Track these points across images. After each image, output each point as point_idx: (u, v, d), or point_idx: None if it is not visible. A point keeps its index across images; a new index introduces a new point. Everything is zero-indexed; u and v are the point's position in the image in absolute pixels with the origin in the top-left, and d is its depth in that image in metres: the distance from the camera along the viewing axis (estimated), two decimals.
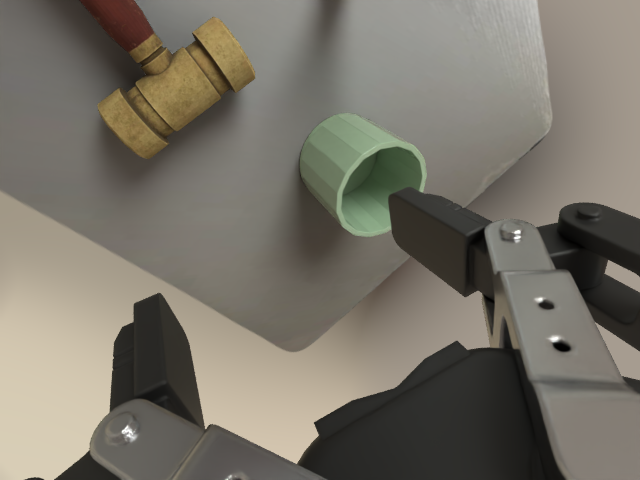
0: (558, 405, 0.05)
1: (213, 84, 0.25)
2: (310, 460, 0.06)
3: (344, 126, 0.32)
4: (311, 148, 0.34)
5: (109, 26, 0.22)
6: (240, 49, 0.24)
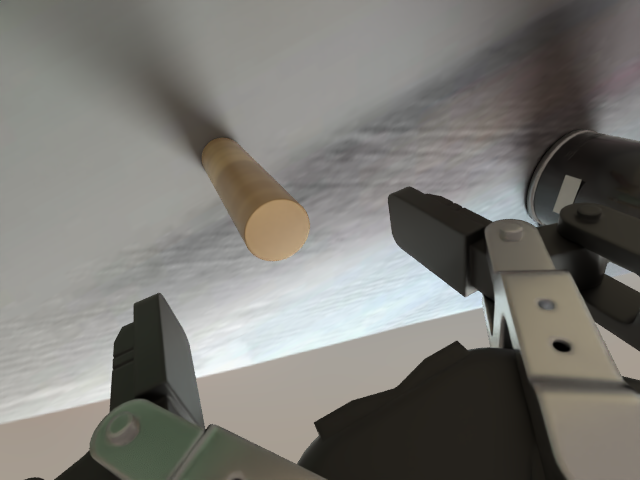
0: (558, 405, 0.05)
1: None
2: (310, 460, 0.06)
3: None
4: None
5: None
6: None
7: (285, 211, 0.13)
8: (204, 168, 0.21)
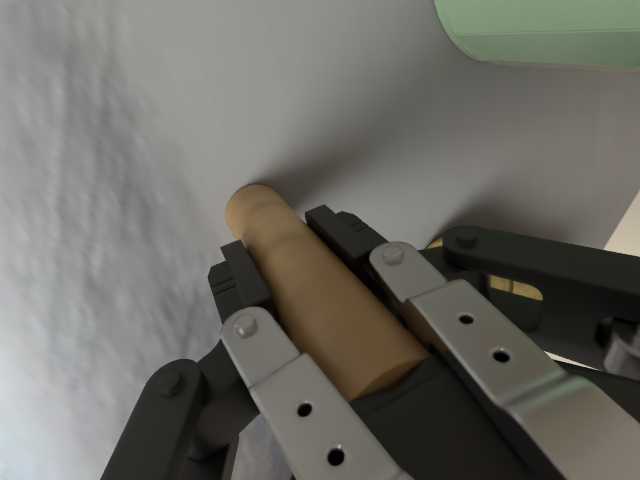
0: (558, 405, 0.05)
1: None
2: None
3: (505, 42, 0.14)
4: None
5: None
6: None
7: None
8: (255, 189, 0.15)
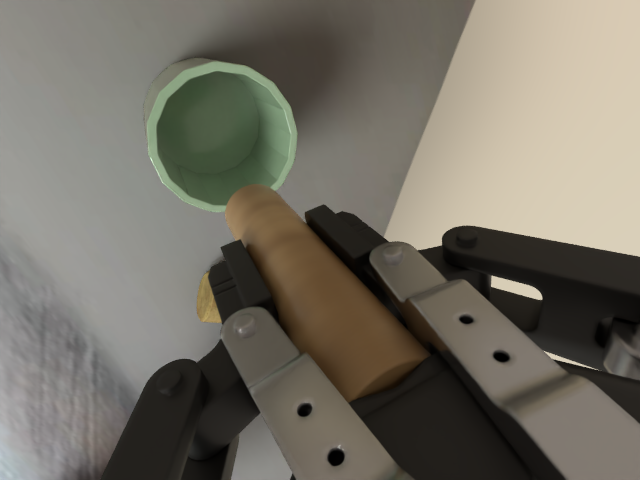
0: (558, 405, 0.05)
1: None
2: None
3: None
4: None
5: None
6: (208, 313, 0.31)
7: None
8: (255, 189, 0.15)
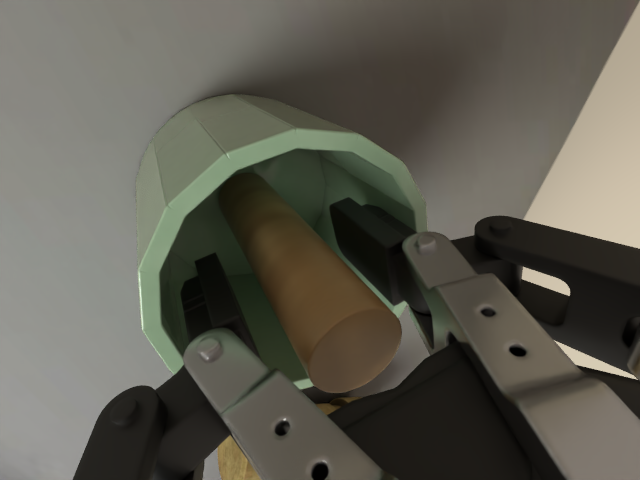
0: (558, 405, 0.05)
1: None
2: None
3: None
4: None
5: None
6: None
7: (380, 357, 0.09)
8: (246, 177, 0.16)
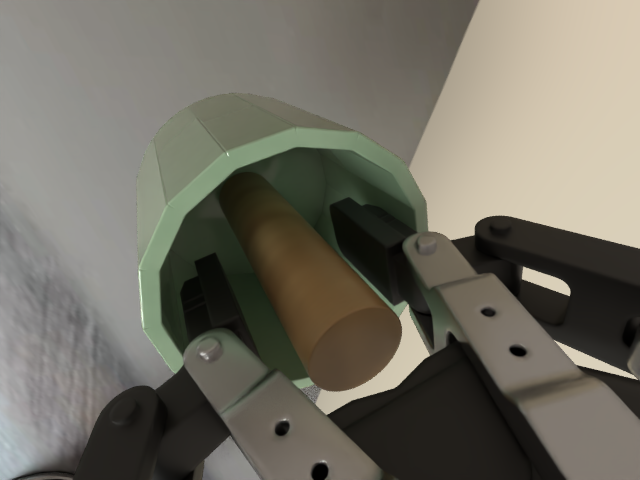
0: (558, 405, 0.05)
1: None
2: None
3: None
4: None
5: None
6: None
7: (380, 356, 0.09)
8: (246, 176, 0.16)
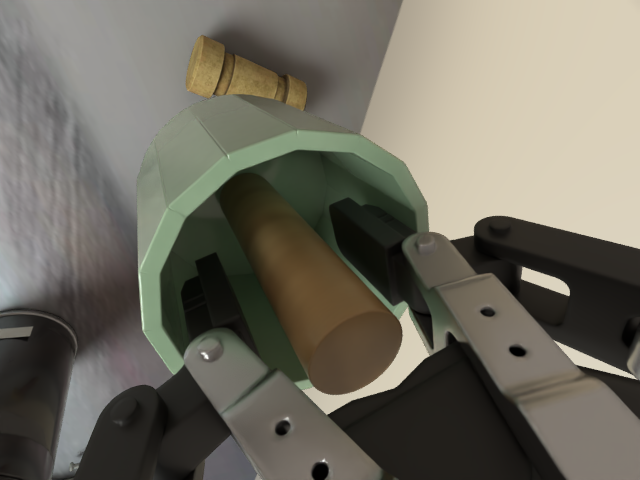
0: (558, 405, 0.05)
1: (231, 72, 0.31)
2: None
3: None
4: None
5: None
6: (197, 68, 0.29)
7: (381, 359, 0.09)
8: (247, 177, 0.16)
